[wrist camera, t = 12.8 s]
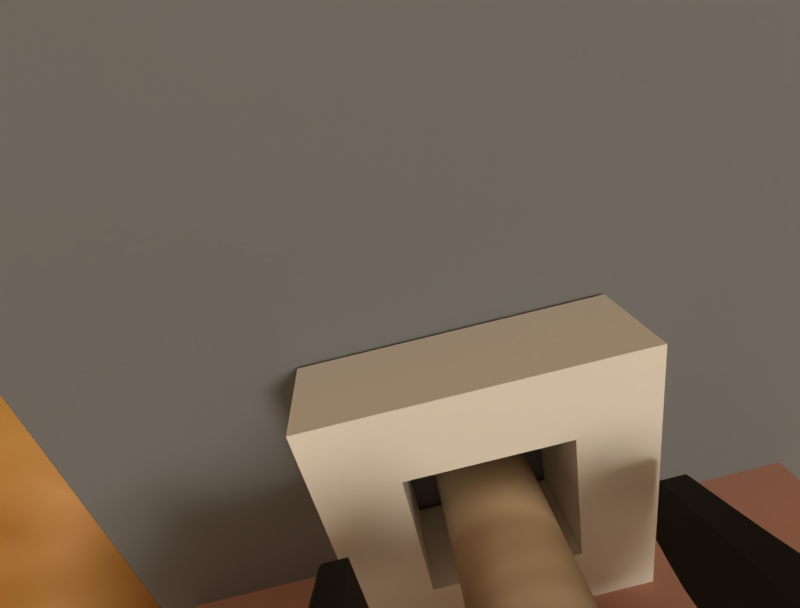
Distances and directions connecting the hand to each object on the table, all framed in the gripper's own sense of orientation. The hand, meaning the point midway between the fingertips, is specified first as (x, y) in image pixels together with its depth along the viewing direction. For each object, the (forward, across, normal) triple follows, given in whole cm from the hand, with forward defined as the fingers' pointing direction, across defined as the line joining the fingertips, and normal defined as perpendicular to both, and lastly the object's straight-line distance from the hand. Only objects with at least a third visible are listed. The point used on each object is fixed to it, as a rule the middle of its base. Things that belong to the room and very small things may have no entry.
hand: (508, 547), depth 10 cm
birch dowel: (+3, 0, 0) cm, 3 cm away
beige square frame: (+3, 0, 0) cm, 3 cm away
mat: (+4, 0, -3) cm, 5 cm away
